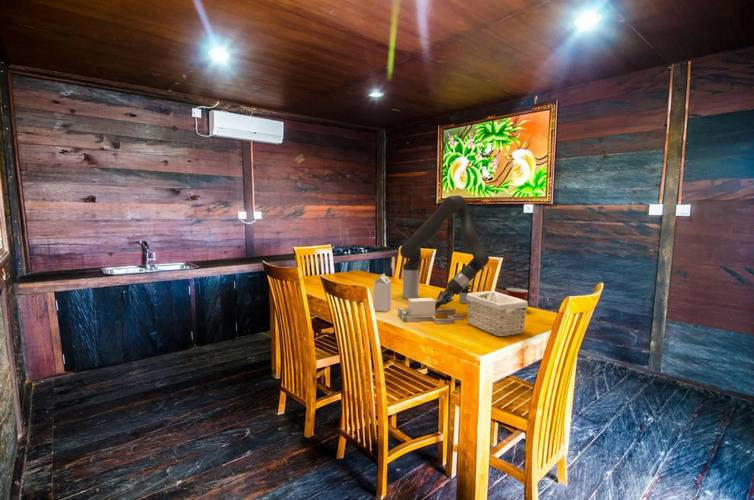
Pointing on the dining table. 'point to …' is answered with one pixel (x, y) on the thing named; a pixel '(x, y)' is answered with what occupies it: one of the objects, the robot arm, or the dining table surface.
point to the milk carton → (382, 294)
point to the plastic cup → (517, 293)
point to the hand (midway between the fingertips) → (434, 308)
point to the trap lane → (449, 320)
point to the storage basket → (496, 312)
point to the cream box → (421, 307)
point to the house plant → (465, 293)
